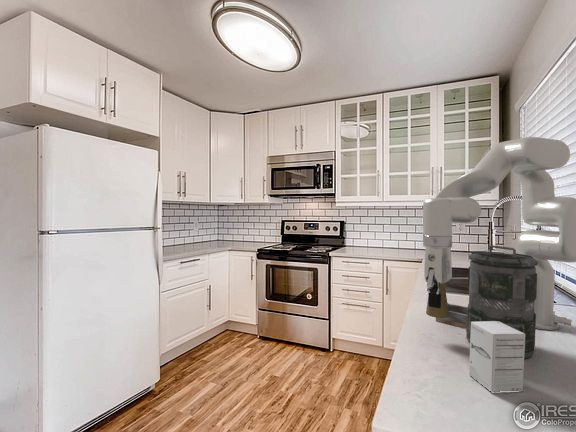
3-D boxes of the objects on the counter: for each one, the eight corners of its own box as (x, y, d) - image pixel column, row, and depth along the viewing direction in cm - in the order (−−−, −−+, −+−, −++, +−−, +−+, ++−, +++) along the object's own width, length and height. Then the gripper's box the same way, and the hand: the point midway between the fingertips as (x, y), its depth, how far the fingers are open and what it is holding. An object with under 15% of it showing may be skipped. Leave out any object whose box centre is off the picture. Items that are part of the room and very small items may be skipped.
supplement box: (467, 375, 72) (469, 320, 72) (498, 374, 73) (499, 320, 73) (490, 394, 65) (493, 333, 65) (524, 393, 66) (526, 333, 65)
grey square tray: (475, 321, 108) (476, 309, 108) (468, 329, 101) (469, 316, 101) (444, 314, 115) (444, 302, 115) (435, 321, 108) (436, 308, 108)
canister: (453, 339, 93) (456, 244, 92) (491, 332, 98) (494, 242, 98) (507, 364, 78) (511, 251, 77) (548, 355, 84) (552, 249, 83)
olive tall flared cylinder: (444, 310, 94) (444, 274, 93) (452, 318, 88) (452, 278, 87) (423, 310, 94) (423, 274, 94) (430, 317, 88) (430, 278, 88)
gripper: (442, 245, 82) (442, 316, 82) (459, 239, 94) (459, 301, 95) (413, 243, 87) (413, 310, 87) (433, 238, 99) (432, 296, 100)
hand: (437, 304), depth 91 cm, fingers closed on olive tall flared cylinder, 3 cm apart
